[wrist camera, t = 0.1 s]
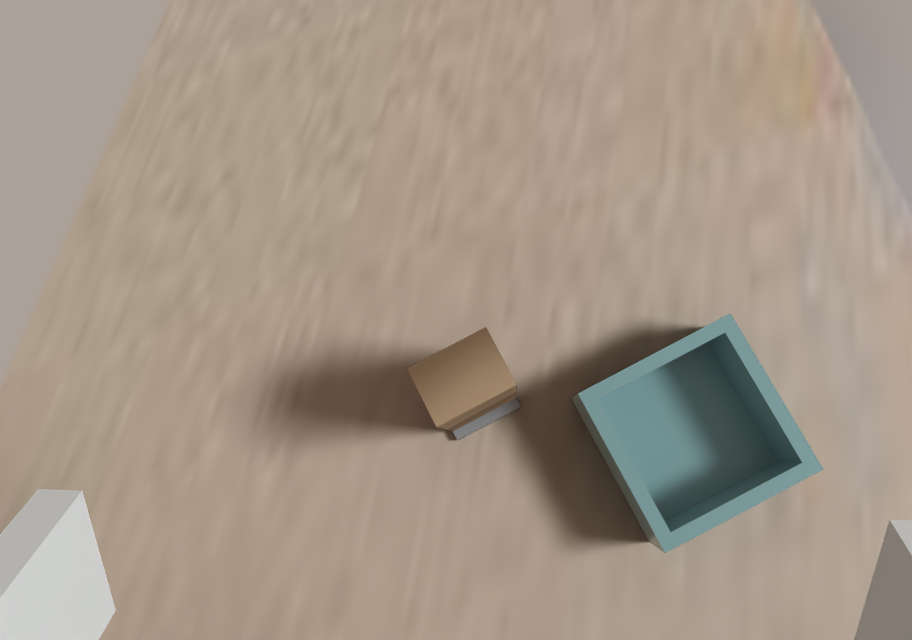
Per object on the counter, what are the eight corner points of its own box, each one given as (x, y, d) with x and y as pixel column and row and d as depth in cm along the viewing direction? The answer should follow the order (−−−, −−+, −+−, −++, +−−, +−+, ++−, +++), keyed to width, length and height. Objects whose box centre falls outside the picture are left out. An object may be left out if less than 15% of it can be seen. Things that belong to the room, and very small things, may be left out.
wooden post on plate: (520, 407, 49) (522, 395, 38) (457, 440, 49) (441, 438, 38) (487, 344, 50) (480, 316, 39) (425, 377, 50) (401, 357, 39)
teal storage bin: (791, 467, 48) (823, 469, 43) (649, 542, 47) (665, 552, 42) (708, 326, 49) (730, 313, 44) (571, 399, 49) (577, 393, 44)
